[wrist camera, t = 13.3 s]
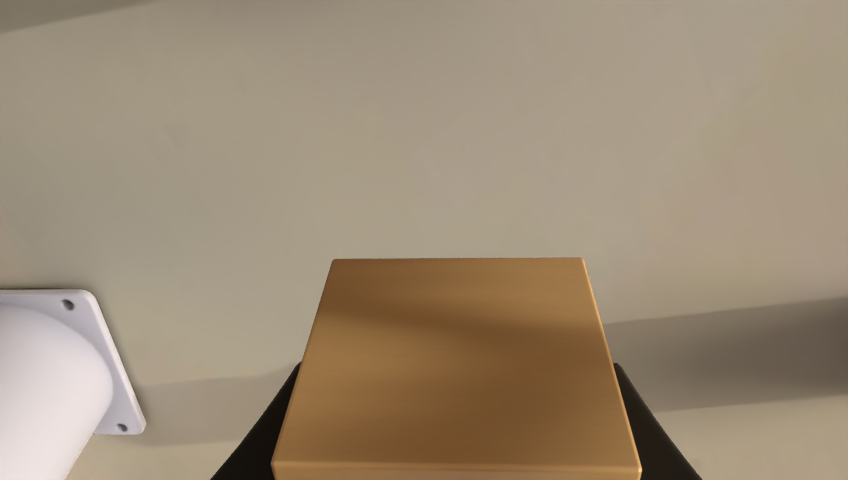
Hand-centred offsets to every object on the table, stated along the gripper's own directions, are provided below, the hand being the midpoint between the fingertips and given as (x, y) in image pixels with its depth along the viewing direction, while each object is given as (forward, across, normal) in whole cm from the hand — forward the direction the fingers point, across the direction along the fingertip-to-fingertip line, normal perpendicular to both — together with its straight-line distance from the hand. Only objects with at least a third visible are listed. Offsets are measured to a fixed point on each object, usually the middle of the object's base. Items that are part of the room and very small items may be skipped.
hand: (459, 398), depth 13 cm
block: (+1, 0, 0) cm, 1 cm away
